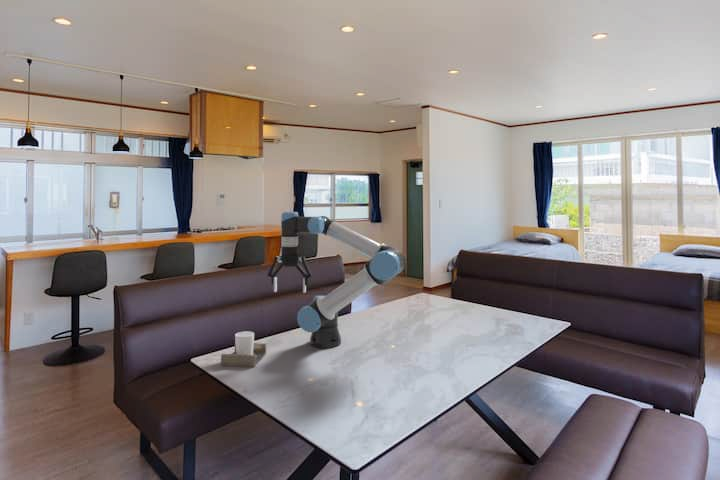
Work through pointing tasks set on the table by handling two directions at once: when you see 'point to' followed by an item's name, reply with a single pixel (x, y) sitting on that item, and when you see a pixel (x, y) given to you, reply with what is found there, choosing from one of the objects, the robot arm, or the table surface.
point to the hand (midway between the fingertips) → (289, 292)
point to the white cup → (244, 343)
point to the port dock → (244, 357)
